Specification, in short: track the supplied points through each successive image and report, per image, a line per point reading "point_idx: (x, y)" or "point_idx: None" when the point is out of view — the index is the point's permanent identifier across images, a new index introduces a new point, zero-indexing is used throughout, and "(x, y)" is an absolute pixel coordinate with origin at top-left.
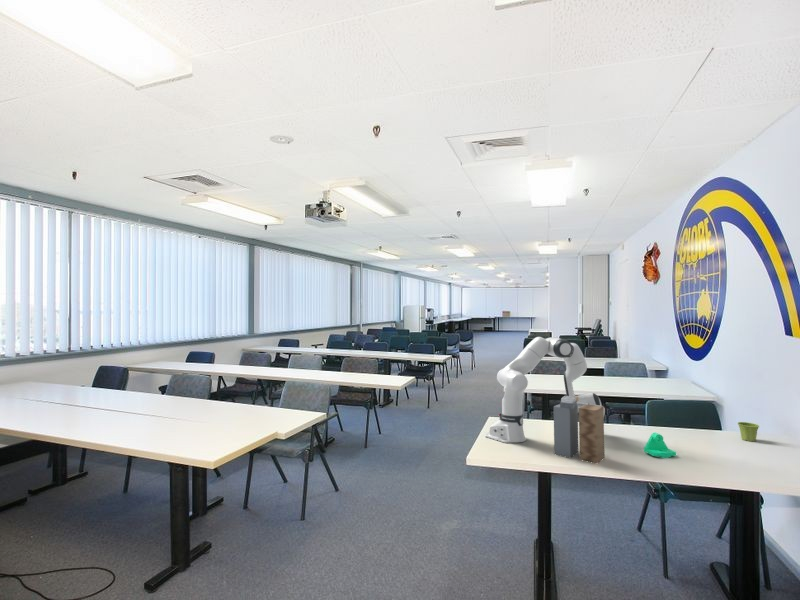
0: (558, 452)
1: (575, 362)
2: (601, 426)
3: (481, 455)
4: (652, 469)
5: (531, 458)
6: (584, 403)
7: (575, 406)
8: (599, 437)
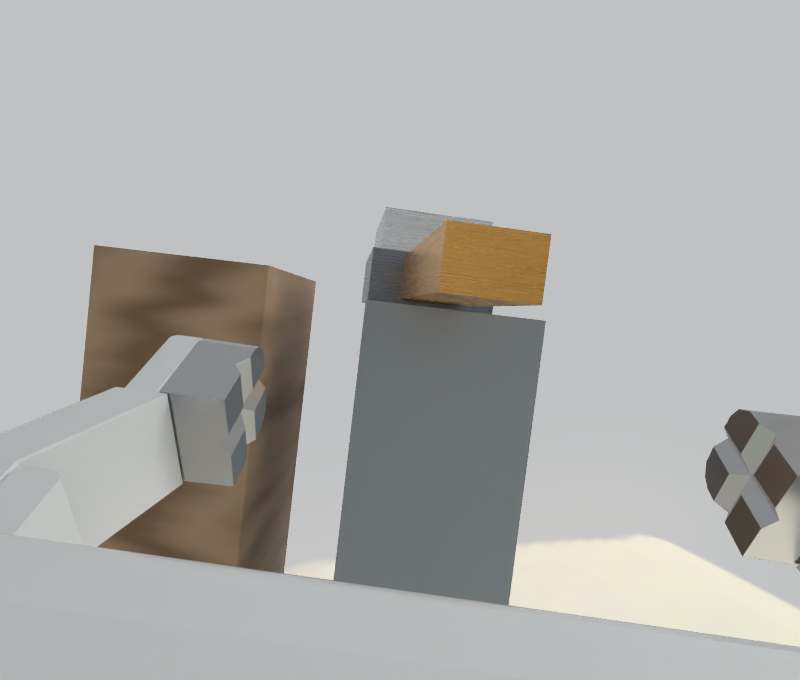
0: None
1: None
2: None
3: (678, 558)
4: None
5: (514, 590)
6: (484, 602)
7: (365, 300)
8: None
